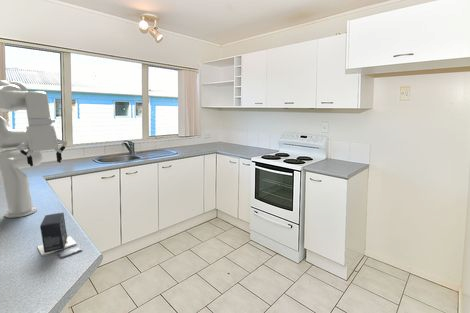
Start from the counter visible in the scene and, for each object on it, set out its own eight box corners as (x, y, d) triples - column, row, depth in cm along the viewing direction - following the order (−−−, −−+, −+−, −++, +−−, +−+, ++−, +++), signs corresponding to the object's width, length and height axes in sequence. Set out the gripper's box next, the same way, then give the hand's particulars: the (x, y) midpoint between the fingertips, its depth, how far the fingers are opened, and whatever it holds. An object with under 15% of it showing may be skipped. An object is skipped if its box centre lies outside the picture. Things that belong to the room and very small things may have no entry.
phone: (57, 256, 98) (57, 254, 97) (78, 248, 103) (78, 246, 102) (61, 260, 95) (60, 257, 95) (82, 252, 100) (82, 249, 100)
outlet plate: (37, 247, 103) (37, 245, 103) (70, 237, 110) (70, 236, 110) (41, 255, 97) (41, 254, 97) (76, 244, 105) (76, 243, 105)
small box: (48, 239, 107) (44, 214, 105) (67, 236, 110) (64, 211, 108) (43, 253, 98) (38, 225, 96) (64, 248, 100) (60, 222, 98)
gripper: (62, 121, 120) (66, 159, 123) (11, 123, 108) (18, 165, 111) (66, 122, 115) (71, 162, 118) (14, 124, 103) (21, 168, 106)
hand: (45, 163), depth 115 cm, fingers open, 9 cm apart
